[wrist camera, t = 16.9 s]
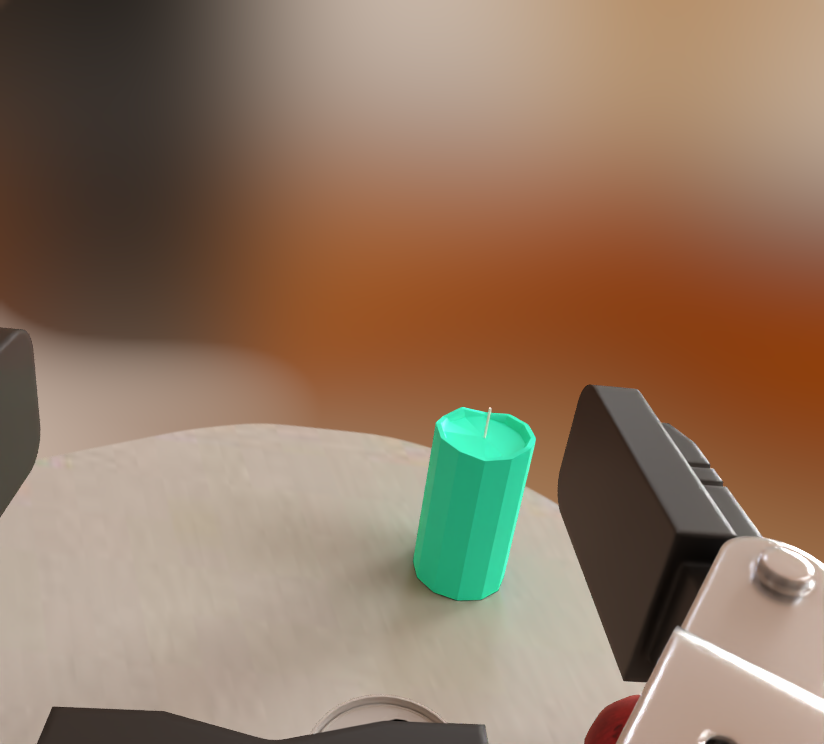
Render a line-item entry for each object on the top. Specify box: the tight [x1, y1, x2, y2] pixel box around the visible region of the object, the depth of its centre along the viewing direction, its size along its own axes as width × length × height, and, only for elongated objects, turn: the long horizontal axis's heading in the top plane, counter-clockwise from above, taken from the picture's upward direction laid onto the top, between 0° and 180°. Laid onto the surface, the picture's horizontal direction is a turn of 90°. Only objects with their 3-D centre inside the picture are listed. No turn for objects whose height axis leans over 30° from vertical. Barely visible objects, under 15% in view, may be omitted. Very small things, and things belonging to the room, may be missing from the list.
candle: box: [413, 407, 536, 600], centre depth 48 cm, size 6×6×12 cm
